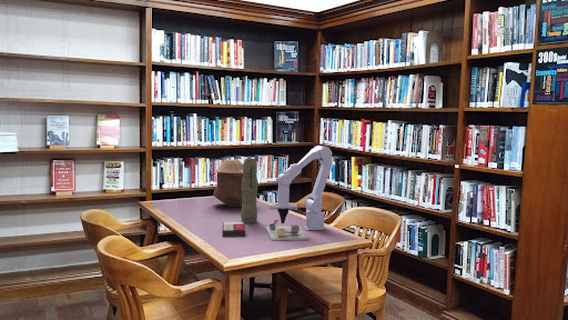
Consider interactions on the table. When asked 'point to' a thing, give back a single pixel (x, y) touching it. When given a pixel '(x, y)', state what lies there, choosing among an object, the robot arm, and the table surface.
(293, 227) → the slider grey
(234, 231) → the red and grey box
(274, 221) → the toggle lever
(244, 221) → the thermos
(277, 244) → the table surface
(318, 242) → the table surface
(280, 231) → the slider brass
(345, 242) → the table surface
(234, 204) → the pottery vessel
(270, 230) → the panel
